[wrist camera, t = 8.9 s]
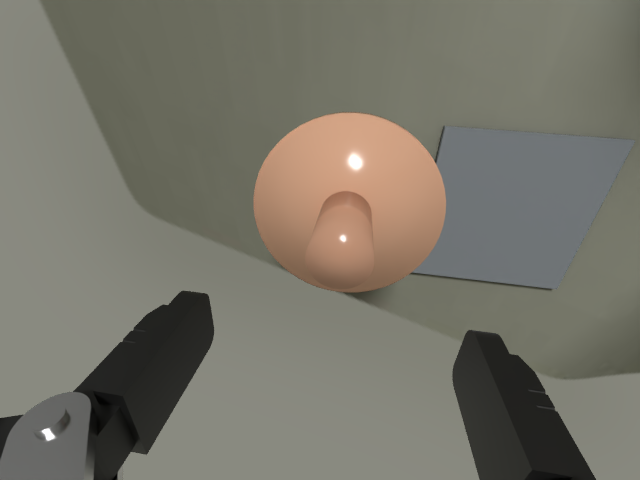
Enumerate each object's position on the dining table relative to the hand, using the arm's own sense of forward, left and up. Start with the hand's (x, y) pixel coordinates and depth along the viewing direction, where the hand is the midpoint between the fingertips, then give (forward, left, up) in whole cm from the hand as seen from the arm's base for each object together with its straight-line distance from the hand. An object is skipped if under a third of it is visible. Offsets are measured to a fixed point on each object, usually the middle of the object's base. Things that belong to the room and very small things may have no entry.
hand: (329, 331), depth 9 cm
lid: (0, 0, -10) cm, 10 cm away
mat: (-14, +3, -20) cm, 25 cm away
